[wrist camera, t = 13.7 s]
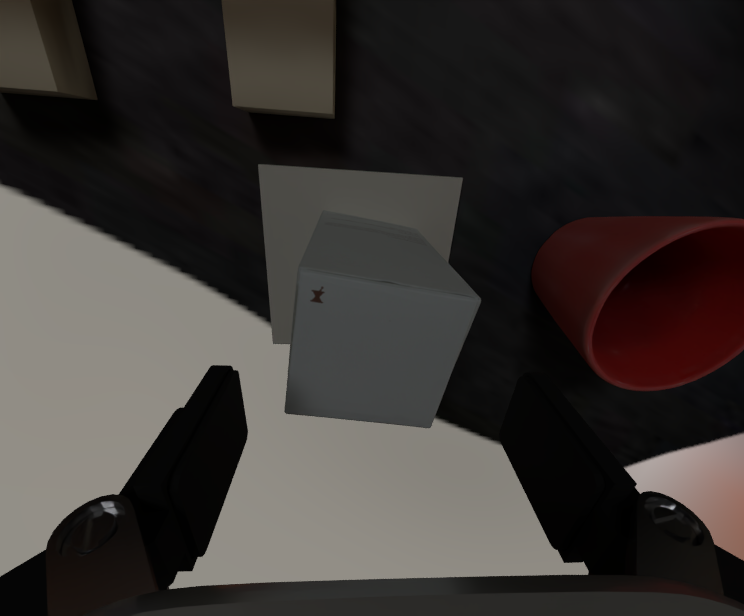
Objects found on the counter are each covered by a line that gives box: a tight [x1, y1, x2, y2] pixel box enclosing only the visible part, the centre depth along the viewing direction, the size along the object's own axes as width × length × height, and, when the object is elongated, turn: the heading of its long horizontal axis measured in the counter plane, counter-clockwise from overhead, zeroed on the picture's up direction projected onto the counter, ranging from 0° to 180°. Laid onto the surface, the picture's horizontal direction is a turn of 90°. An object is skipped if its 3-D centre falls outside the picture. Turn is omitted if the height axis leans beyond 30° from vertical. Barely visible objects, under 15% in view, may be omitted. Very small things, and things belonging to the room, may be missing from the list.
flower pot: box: [531, 216, 744, 391], centre depth 22 cm, size 11×11×10 cm
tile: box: [258, 164, 463, 344], centre depth 25 cm, size 14×14×1 cm
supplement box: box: [285, 210, 481, 428], centre depth 19 cm, size 7×7×13 cm
